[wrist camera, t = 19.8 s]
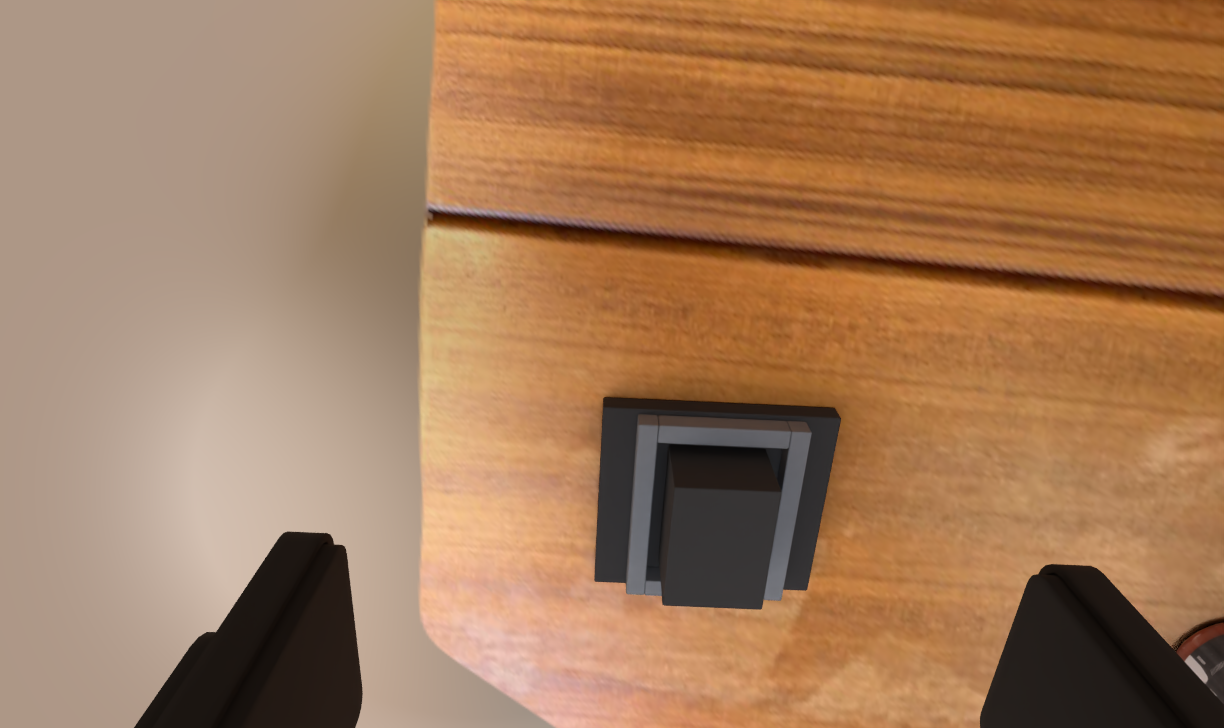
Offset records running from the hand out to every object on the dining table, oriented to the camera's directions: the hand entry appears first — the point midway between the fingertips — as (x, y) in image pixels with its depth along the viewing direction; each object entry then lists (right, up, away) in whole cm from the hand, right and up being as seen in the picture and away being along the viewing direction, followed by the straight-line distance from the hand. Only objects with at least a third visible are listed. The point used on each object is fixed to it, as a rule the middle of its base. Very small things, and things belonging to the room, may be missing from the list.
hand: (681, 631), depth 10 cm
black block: (+4, -4, +29) cm, 29 cm away
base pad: (+4, -3, +30) cm, 30 cm away
